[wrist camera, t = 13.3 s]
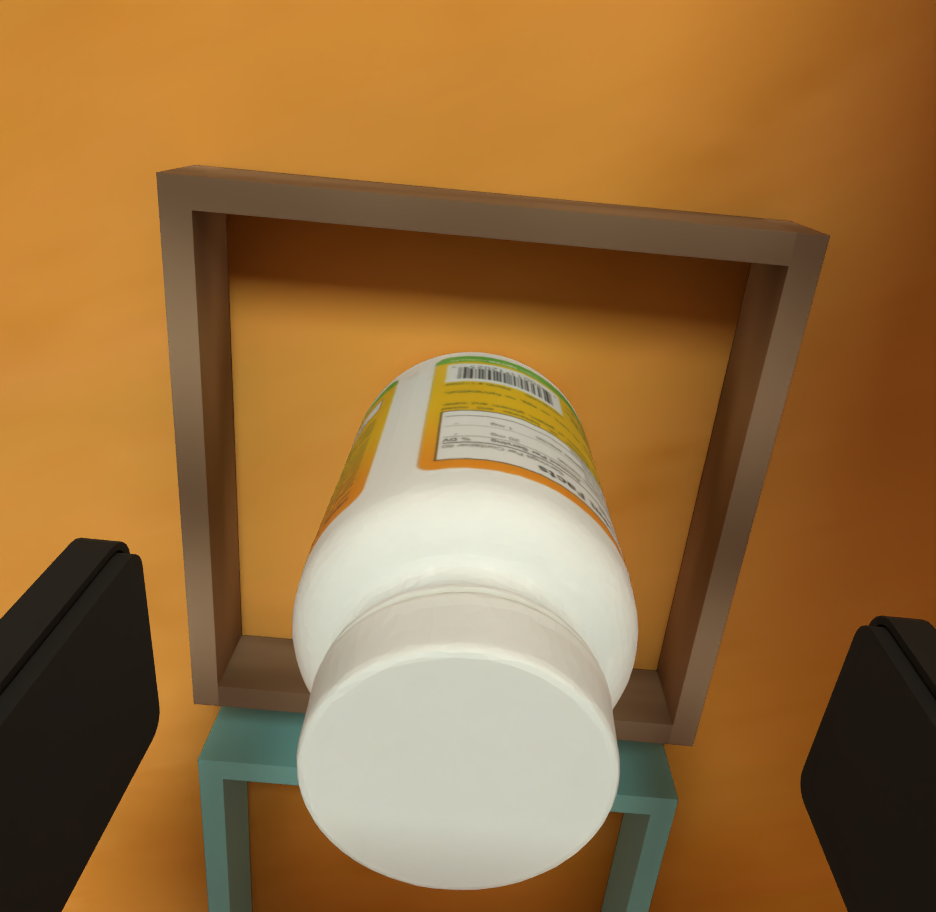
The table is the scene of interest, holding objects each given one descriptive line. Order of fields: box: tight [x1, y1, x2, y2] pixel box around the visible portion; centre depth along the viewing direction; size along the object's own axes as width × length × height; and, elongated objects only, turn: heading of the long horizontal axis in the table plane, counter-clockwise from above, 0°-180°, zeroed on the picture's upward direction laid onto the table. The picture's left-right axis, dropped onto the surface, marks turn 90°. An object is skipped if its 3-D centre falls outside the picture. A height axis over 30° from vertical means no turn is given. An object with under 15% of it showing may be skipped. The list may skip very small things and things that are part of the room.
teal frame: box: [198, 706, 678, 912], centre depth 23 cm, size 12×12×2 cm
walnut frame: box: [156, 165, 830, 746], centre depth 18 cm, size 12×12×2 cm
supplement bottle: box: [292, 352, 638, 890], centre depth 14 cm, size 5×5×10 cm
